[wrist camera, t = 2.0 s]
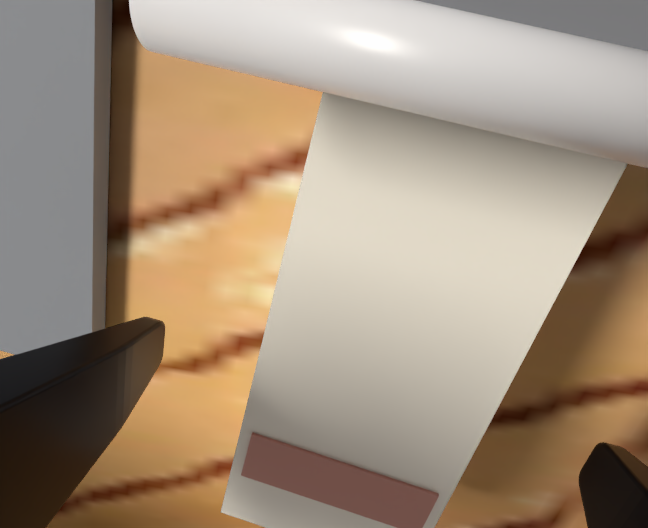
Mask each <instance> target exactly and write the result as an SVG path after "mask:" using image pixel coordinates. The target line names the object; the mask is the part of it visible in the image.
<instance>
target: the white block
mask: <svg viewBox="0 0 648 528" xmlns="http://www.w3.org/2000/svg"><path fill="white" fill-rule="evenodd" d="M626 166H627V163H623V162H619V161H615V160H610V159H606V158H602V157H598V156H593V155H589V154H585V153H580V152H576V151H572V150H568V149H563V148H559V147H555V146H551V145H546V144H542V143H538V142H534V141H529V140H525V139H521V138H517V137H512V136H508V135H504V134H500V133H495V132H491V131H487V130H483V129H478V128H474V127H470V126H466V125H461V124H457V123H453V122H448V121H444V120H440V119H436V118H431V117H427V116H423V115H419V114H414V113H410V112H406V111H402V110H397V109H393V108H389V107H385V106H380V105H376V104H372V103H368V102H363V101H359V100H355V99H351V98H346V97H342V96H338V95H334V94H329V93H325V92H323V94H322V98H321V102H320V106H319V111H318V115H317V119H316V123H315V127H314V131H313V135H312V139H311V143H310V148H309V152H308V156H307V160H306V164H305V168H304V172H303V176H302V180H301V185H300V189H299V193H298V197H297V201H296V205H295V209H294V213H293V217H292V221H291V226H290V230H289V234H288V238H287V242H286V246H285V250H284V254H283V258H282V263H281V267H280V271H279V275H278V279H277V283H276V287H275V291H274V295H273V300H272V304H271V308H270V312H269V316H268V320H267V324H266V328H265V332H264V336H263V341H262V345H261V349H260V353H259V357H258V361H257V365H256V369H255V373H254V378H253V382H252V386H251V390H250V394H249V398H248V402H247V406H246V410H245V415H244V419H243V423H242V427H241V431H240V435H239V439H238V443H237V447H236V451H235V456H234V460H233V464H232V468H231V472H230V476H229V480H228V484H227V488H226V493H225V497H224V501H223V505H222V509H221V513H224V514H227V515H230V516H233V517H236V518H239V519H242V520H245V521H248V522H251V523H254V524H257V525H260V526H263V527H266V528H434V527H435V525H436V524H437V522H438V520H439V518H440V516H441V514H442V512H443V510H444V508H445V507H446V505H447V503H448V501H449V499H450V497H451V495H452V493H453V492H454V490H455V488H456V486H457V484H458V482H459V480H460V478H461V477H462V475H463V473H464V471H465V469H466V467H467V465H468V463H469V461H470V460H471V458H472V456H473V454H474V452H475V450H476V448H477V446H478V445H479V443H480V441H481V439H482V437H483V435H484V433H485V431H486V429H487V428H488V426H489V424H490V422H491V420H492V418H493V416H494V414H495V413H496V411H497V409H498V407H499V405H500V403H501V401H502V399H503V397H504V396H505V394H506V392H507V390H508V388H509V386H510V384H511V382H512V381H513V379H514V377H515V375H516V373H517V371H518V369H519V367H520V366H521V364H522V362H523V360H524V358H525V356H526V354H527V352H528V350H529V349H530V347H531V345H532V343H533V341H534V339H535V337H536V335H537V334H538V332H539V330H540V328H541V326H542V324H543V322H544V320H545V318H546V317H547V315H548V313H549V311H550V309H551V307H552V305H553V303H554V302H555V300H556V298H557V296H558V294H559V292H560V290H561V288H562V286H563V285H564V283H565V281H566V279H567V277H568V275H569V273H570V271H571V270H572V268H573V266H574V264H575V262H576V260H577V258H578V256H579V255H580V253H581V251H582V249H583V247H584V245H585V243H586V241H587V239H588V238H589V236H590V234H591V232H592V230H593V228H594V226H595V224H596V223H597V221H598V219H599V217H600V215H601V213H602V211H603V209H604V207H605V206H606V204H607V202H608V200H609V198H610V196H611V194H612V192H613V191H614V189H615V187H616V185H617V183H618V181H619V179H620V177H621V175H622V174H623V172H624V170H625V168H626Z"/></svg>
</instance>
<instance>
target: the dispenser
mask: <svg viewBox="0 0 648 528" xmlns="http://www.w3.org/2000/svg"><path fill="white" fill-rule="evenodd" d="M129 8H130V15H131V20H132V24H133V28H134V31H135V33H136V36H137V38H138V40H139V41H140V43H141V44H142V45H143V47H144V48H146V49H147V50H148V51H151V52H155V53H159V54H163V55H167V56H172V57H176V58H180V59H184V60H189V61H193V62H197V63H202V64H206V65H210V66H214V67H219V68H223V69H227V70H231V71H236V72H240V73H244V74H248V75H253V76H257V77H261V78H265V79H270V80H274V81H278V82H282V83H287V84H291V85H295V86H299V87H304V88H308V89H312V90H316V91H321V92H325V93H329V94H334V95H338V96H342V97H346V98H351V99H355V100H359V101H363V102H368V103H372V104H376V105H380V106H385V107H389V108H393V109H397V110H402V111H406V112H410V113H414V114H419V115H423V116H427V117H431V118H436V119H440V120H444V121H448V122H453V123H457V124H461V125H466V126H470V127H474V128H478V129H483V130H487V131H491V132H495V133H500V134H504V135H508V136H512V137H517V138H521V139H525V140H529V141H534V142H538V143H542V144H546V145H551V146H555V147H559V148H563V149H568V150H572V151H576V152H580V153H585V154H589V155H593V156H598V157H602V158H606V159H610V160H615V161H619V162H623V163H627V164H632V165H636V166H640V167H644V168H648V0H129Z"/></svg>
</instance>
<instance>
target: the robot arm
mask: <svg viewBox="0 0 648 528" xmlns="http://www.w3.org/2000/svg"><path fill="white" fill-rule="evenodd" d="M164 336H165V324H164V323H163V321H160V320H156V319H153V318H149V317H142V318H139V319H135V320H132V321H128V322H125V323H122V324H118V325H115V326H112V327H108V328H105V329H101V330H98V331H95V332H91V333H88V334H84V335H81V336H78V337H74V338H71V339H67V340H64V341H61V342H57V343H54V344H50V345H47V346H44V347H40V348H37V349H33V350H30V351H27V352H23V353H20V354H16V355H13V356H10V357H6V358H3V359H0V528H46V527H47V525H48V524H49V523H50V521H51V520H52V519H53V517H54V516H55V515H56V513H57V512H58V511H59V509H60V508H61V507H62V506H63V504H64V503H65V502H66V500H67V499H68V498H69V496H70V495H71V494H72V492H73V491H74V490H75V488H76V487H77V486H78V484H79V483H80V482H81V481H82V479H83V478H84V477H85V475H86V474H87V473H88V471H89V470H90V469H91V467H92V466H93V465H94V463H95V462H96V461H97V460H98V458H99V457H100V456H101V454H102V453H103V452H104V450H105V449H106V448H107V446H108V445H109V444H110V442H111V441H112V440H113V438H114V437H115V436H116V434H117V433H118V432H119V430H120V429H121V428H122V426H123V425H124V423H125V421H126V420H127V418H128V417H129V415H130V413H131V412H132V410H133V408H134V407H135V405H136V403H137V402H138V400H139V398H140V397H141V395H142V393H143V392H144V390H145V388H146V387H147V385H148V383H149V382H150V380H151V378H152V377H153V375H154V373H155V372H156V370H157V368H158V367H159V365H160V363H161V360H162V357H163V348H164ZM579 487H580V492H581V497H582V502H583V506H584V511H585V516H586V521H587V526H588V528H648V467H647V466H646V465H645V464H643V463H642V462H641V461H640V460H638V459H637V458H636V457H635V456H633V455H632V454H631V453H630V452H628V451H627V450H626V449H624V448H622V447H619V446H616V445H612V444H608V443H604V442H602V443H599V444H597V445H596V446H595V448H594V449H593V451H592V453H591V454H590V456H589V458H588V459H587V461H586V463H585V464H584V466H583V468H582V469H581V471H580V474H579Z"/></svg>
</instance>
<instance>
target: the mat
mask: <svg viewBox="0 0 648 528" xmlns="http://www.w3.org/2000/svg"><path fill="white" fill-rule="evenodd" d="M111 43H112V0H0V350H1V351H4V352H8V353H11V354H15V355H16V354H20V353H23V352H27V351H30V350H33V349H37V348H40V347H44V346H47V345H50V344H54V343H57V342H61V341H64V340H67V339H71V338H74V337H78V336H81V335H84V334H88V333H91V332H95V331H98V330H101V329H105V312H106V267H107V222H108V177H109V132H110V87H111Z"/></svg>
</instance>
